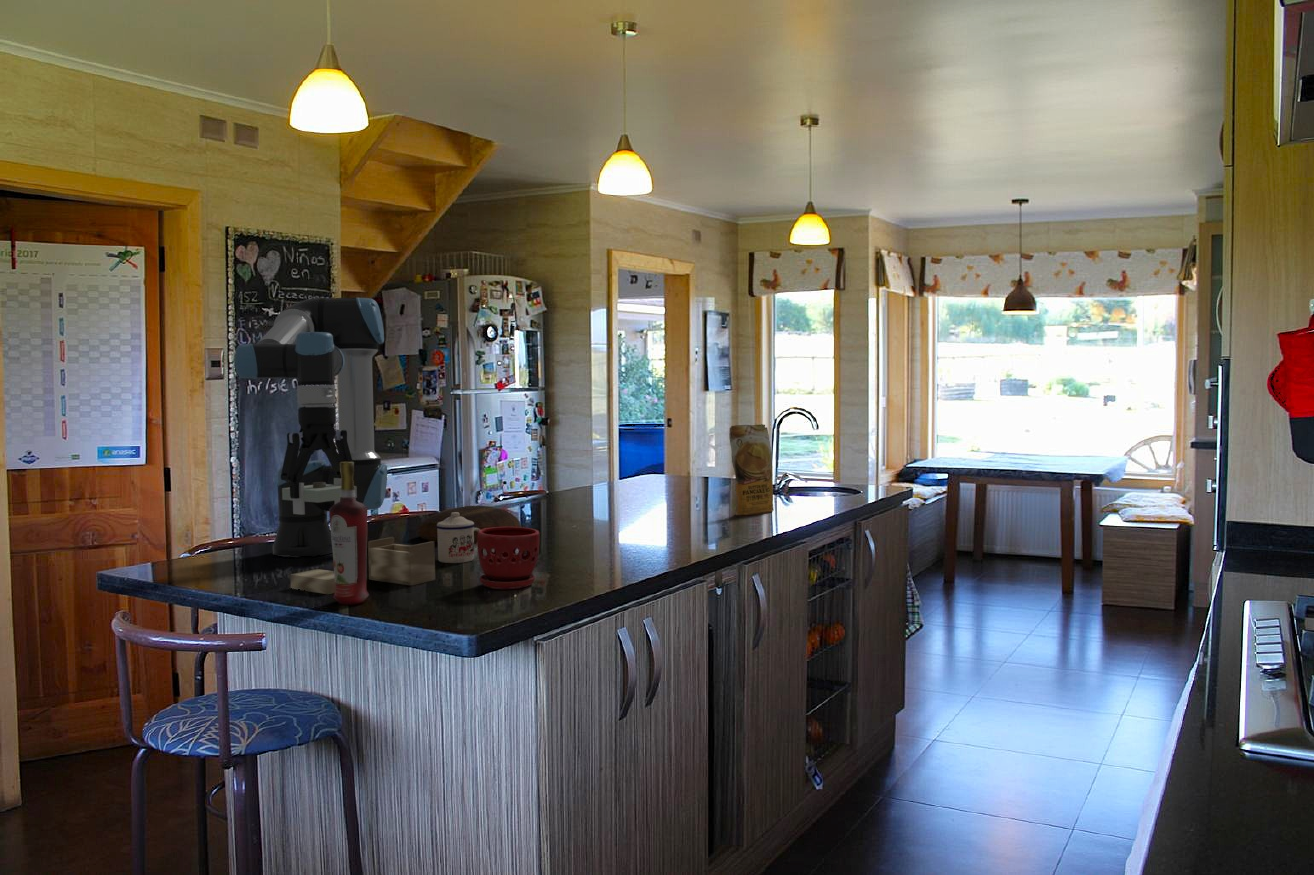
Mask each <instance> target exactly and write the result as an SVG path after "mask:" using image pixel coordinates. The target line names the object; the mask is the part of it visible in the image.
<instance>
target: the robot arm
mask: <svg viewBox="0 0 1314 875" xmlns="http://www.w3.org/2000/svg"><path fill="white" fill-rule="evenodd" d="M384 342H385V331H384V322H383V319H382V314H381V310H380V306H379V304H378V303H377V301H376V300H375V299H373V298H368V297H359V296H358V297H314V298H308V299H305V300H301V301H299V302H296V303H294V304H291V305H290V306H288V307H286V308H285V309H283V310H282V311H281V312H279V313H278V315H277V316H276V317H275V319H274V322H273V326H272V327H271V328H270V329H269V330H268V331H267V332H266V333H265V334H264V335H263V336H262V337H261V338H260V339H259V340H258V342H256V343H250V342H249V343H246V344H239V345H238V346H236V349H235V352H234V368H235V371H236V373H237V375H238V376H239V378H240V379H241V378H242V379H249V380H250V379H251V380H252V379H253V380H262V379H263V380H266V379H296V380H297V384H296V385H297V386H296V387H297V388H296V391H297V392H296V394H297V395H296V396H297V397H296V398H297V404H298V405H300V407H298V409H297V414H298V415H297V416H298V417H297V420H298V422H297V423H298V425H299V426H300V429H299V431H298V432H288V433H287V434H286V444H287V445H286V450H285V454H284V458H283V464H282V466H281V467H280V468H279V469H278V472H277V484H276V487H277V497H278V498H277V500H278V528H277V532H276V534H275V539H274V542H273V544H272V555H273V554H275V555H290V556H312V557H318V556H317V555H320V556H324V555H325V556H326V555H329V554H333V550H332V540H331V529H330V526H329V525H330V524H329V522H328V512H329V509H330V508H331V507H332V506H333V505H334V504H336V503H338V502H340V500H334V501H326V502H319V503H318V502H305V501H304V486H307V485H313V483H314V482H326V484H329V485H341V473H340V462H354V474H353V481H354V486H357V498H356V501H358V502H360V503H363V504H364V505H365V506H366V507H367V511H370V510H371V511H373V510H377V509H379V508H381V507H382V506H383V504H384V500H385V496H386V491H387V484H388V465H386V464H385V463H382V461H381V458H382V457H381V456H380V455H379V454H378V453H377V452H376V451H375V423H374V420H375V419H374V390H373V389H374V387H373V386H374V382H373V381H374V380H373V378H374V377H373V357H374V356H375V355H376V354H377V353H378V352H379V345H382V344H384ZM336 376H337V396H338V397H337V403H338V404H337V405H338V408H337V409H338V429H335V424H336V422H337V416H336V414H337V412H336V411H337V410H336V407H335V406H333V405H334V404H335V403H336V387H335V386H336V385H335V377H336ZM334 440H335V442H334ZM301 442H302V443H301ZM300 443H301V444H300ZM320 450H321V451H322V452H323V453H324V455H325V456H326V458H327V460H328V462H329V463H330V465H327V462H326V460H324V459H319V460H310V459H311V457H312V455H314V454H315V452H316V451H320ZM289 487H290V497H291V498H293V500H282V488H289Z"/></svg>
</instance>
